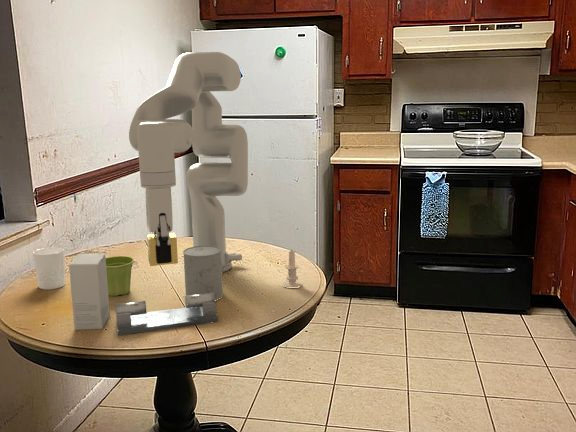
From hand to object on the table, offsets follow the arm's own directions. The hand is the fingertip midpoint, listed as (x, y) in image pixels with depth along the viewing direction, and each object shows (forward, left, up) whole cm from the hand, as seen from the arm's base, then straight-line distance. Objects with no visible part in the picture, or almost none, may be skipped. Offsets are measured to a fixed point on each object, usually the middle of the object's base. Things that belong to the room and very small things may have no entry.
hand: (162, 258), depth 127 cm
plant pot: (+10, -24, -15) cm, 30 cm away
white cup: (+27, -36, -15) cm, 48 cm away
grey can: (-11, -13, -15) cm, 23 cm away
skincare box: (+16, -5, -15) cm, 23 cm away
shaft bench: (0, 0, -15) cm, 15 cm away
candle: (-35, -13, -15) cm, 40 cm away
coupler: (0, 0, -1) cm, 1 cm away
